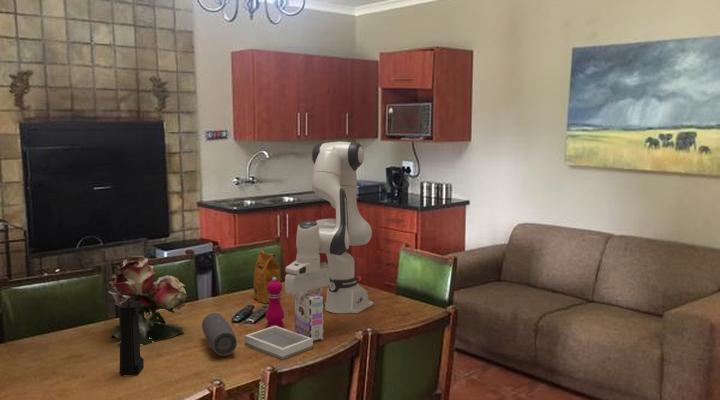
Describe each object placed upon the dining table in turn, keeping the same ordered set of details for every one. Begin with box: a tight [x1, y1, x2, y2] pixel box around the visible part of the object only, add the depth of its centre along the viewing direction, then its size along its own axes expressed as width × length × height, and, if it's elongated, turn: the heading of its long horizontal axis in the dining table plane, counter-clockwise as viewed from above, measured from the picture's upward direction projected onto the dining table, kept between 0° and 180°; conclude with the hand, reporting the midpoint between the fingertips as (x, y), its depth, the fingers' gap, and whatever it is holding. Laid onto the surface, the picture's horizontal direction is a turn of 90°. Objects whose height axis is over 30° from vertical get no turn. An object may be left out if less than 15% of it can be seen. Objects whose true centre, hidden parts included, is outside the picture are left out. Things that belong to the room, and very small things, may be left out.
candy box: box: [293, 290, 324, 342], centre depth 230 cm, size 14×6×16 cm, turn 31°
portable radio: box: [118, 299, 145, 377], centre depth 197 cm, size 8×6×25 cm
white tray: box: [244, 326, 314, 361], centre depth 220 cm, size 14×20×4 cm
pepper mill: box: [265, 277, 285, 328], centre depth 240 cm, size 7×7×20 cm
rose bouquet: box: [107, 255, 188, 347], centre depth 232 cm, size 26×29×30 cm
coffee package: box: [253, 249, 281, 304], centre depth 275 cm, size 10×12×22 cm
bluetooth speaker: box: [201, 312, 238, 357], centre depth 218 cm, size 23×9×10 cm, turn 23°
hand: (308, 301), depth 229 cm, fingers open, 8 cm apart
